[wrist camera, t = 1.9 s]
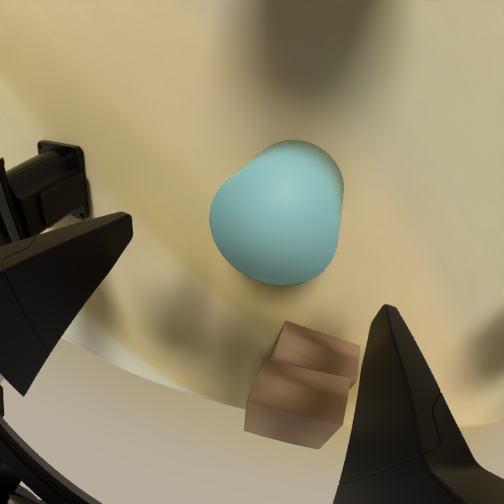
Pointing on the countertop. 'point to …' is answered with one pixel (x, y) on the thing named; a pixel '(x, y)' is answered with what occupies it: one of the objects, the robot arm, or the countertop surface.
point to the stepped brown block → (296, 404)
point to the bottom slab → (316, 352)
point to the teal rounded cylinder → (280, 214)
